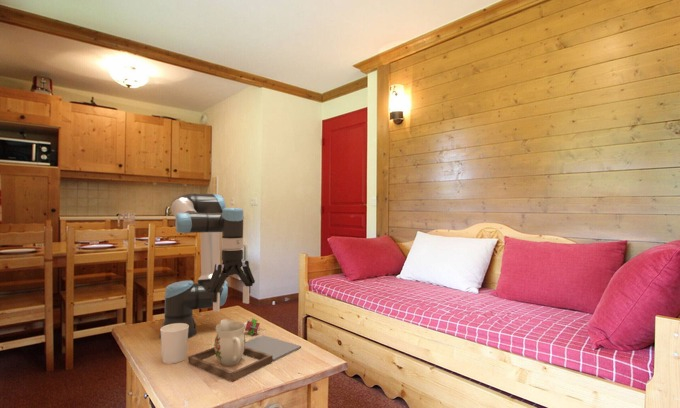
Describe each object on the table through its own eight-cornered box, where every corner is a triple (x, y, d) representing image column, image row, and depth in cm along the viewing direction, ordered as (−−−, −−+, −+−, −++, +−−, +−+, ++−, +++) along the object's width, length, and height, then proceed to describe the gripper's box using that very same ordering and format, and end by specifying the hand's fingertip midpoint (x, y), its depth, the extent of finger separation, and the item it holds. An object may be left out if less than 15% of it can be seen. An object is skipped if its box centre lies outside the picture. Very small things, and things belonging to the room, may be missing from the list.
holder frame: (188, 363, 131) (188, 356, 131) (229, 347, 146) (229, 341, 146) (232, 381, 117) (232, 374, 118) (272, 362, 133) (272, 355, 133)
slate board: (234, 348, 146) (234, 346, 146) (263, 336, 159) (263, 335, 159) (273, 361, 134) (273, 359, 134) (301, 348, 147) (301, 346, 147)
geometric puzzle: (258, 324, 169) (249, 313, 166) (266, 328, 164) (257, 316, 161) (247, 336, 165) (238, 325, 162) (255, 340, 160) (246, 329, 157)
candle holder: (159, 366, 128) (160, 333, 128) (159, 356, 137) (160, 325, 137) (189, 361, 133) (189, 329, 133) (187, 352, 141) (187, 321, 142)
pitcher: (223, 376, 121) (224, 335, 122) (208, 358, 136) (209, 321, 136) (254, 368, 128) (254, 329, 128) (236, 351, 142) (237, 317, 143)
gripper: (210, 253, 120) (209, 316, 120) (264, 247, 141) (263, 301, 140) (196, 251, 124) (195, 313, 124) (251, 246, 145) (250, 298, 145)
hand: (231, 307), depth 132 cm, fingers open, 13 cm apart
